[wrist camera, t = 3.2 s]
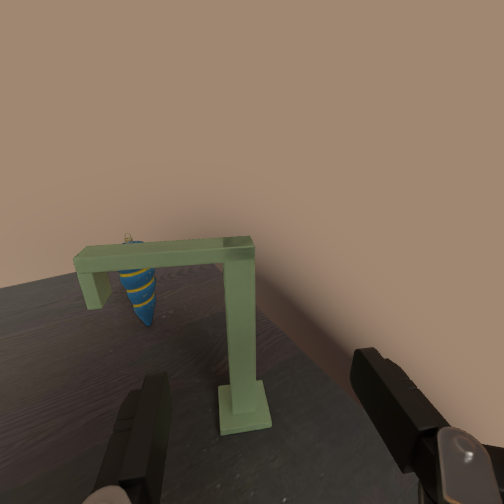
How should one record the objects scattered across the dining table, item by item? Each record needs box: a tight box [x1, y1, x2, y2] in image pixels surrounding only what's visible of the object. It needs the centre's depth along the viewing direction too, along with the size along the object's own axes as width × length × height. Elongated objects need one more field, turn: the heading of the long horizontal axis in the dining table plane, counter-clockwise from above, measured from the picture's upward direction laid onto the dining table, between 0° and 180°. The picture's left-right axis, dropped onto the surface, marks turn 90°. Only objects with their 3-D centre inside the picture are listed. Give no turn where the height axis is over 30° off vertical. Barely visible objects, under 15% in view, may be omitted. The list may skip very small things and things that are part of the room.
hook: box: [73, 236, 272, 436], centre depth 24 cm, size 14×5×19 cm, turn 99°
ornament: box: [118, 237, 156, 326], centre depth 38 cm, size 5×5×15 cm
